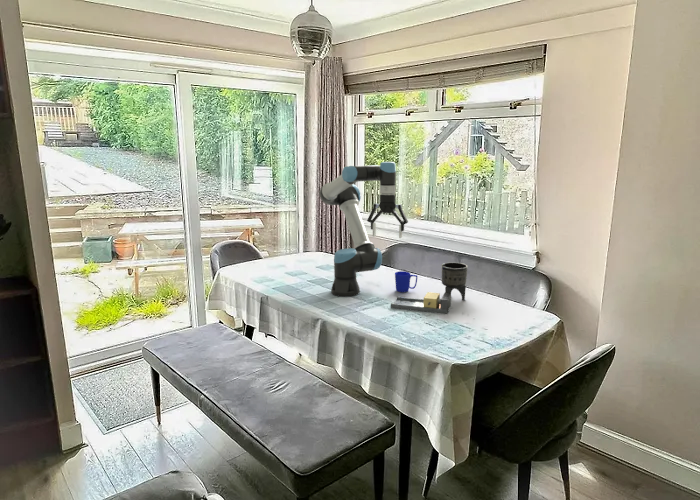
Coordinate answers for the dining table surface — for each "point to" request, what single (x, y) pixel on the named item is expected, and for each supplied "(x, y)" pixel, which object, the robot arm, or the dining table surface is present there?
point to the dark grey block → (446, 301)
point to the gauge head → (432, 300)
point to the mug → (403, 281)
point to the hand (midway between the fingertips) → (387, 236)
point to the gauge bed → (415, 305)
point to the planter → (454, 277)
